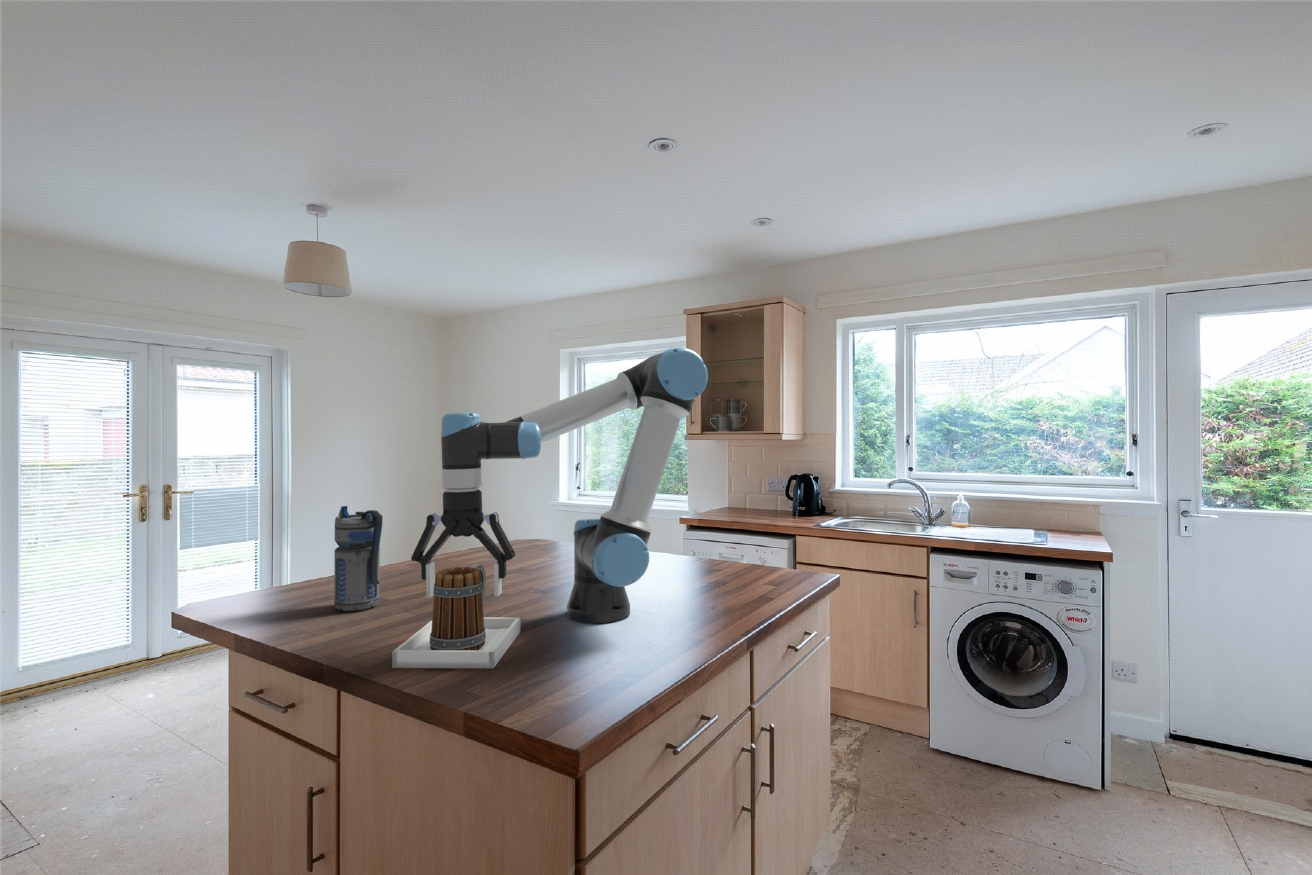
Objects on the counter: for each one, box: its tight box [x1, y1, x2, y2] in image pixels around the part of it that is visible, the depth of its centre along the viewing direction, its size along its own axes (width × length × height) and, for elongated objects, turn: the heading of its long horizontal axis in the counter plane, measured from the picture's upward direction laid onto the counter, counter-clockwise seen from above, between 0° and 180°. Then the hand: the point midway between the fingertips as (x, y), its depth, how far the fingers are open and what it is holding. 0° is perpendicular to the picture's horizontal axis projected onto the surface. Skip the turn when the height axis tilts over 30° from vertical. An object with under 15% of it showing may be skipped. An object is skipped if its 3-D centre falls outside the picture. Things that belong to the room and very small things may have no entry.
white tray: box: [391, 616, 522, 669], centre depth 123 cm, size 19×22×3 cm
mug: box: [430, 563, 487, 650], centre depth 123 cm, size 16×11×15 cm
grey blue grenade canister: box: [333, 505, 383, 612], centre depth 153 cm, size 10×13×25 cm
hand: (464, 595), depth 123 cm, fingers open, 13 cm apart
